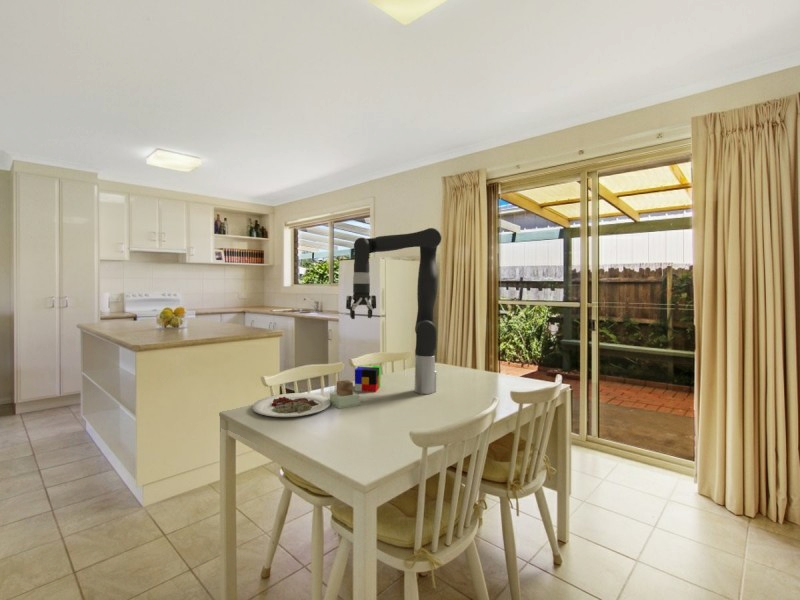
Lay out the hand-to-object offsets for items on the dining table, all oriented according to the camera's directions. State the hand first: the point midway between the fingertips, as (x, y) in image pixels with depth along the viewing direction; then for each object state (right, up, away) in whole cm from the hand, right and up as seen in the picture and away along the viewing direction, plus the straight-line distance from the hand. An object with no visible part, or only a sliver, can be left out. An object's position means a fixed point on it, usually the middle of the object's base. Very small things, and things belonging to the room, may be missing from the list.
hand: (361, 318), depth 185 cm
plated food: (-26, -35, -22) cm, 49 cm away
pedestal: (-6, -35, -16) cm, 39 cm away
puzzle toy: (+2, -34, +8) cm, 35 cm away
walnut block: (-5, -31, -16) cm, 35 cm away
